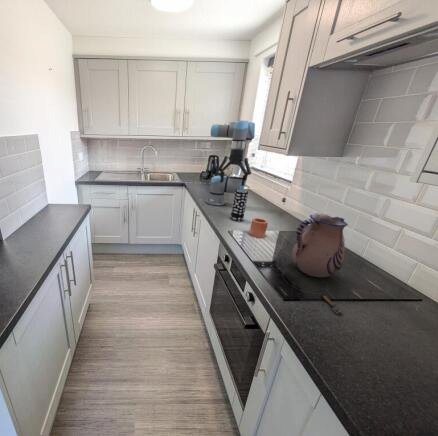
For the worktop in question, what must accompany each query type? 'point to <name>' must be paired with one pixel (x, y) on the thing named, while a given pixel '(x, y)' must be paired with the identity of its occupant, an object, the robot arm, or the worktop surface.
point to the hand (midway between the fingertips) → (231, 184)
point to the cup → (258, 227)
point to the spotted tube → (239, 205)
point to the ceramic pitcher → (320, 245)
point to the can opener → (332, 305)
